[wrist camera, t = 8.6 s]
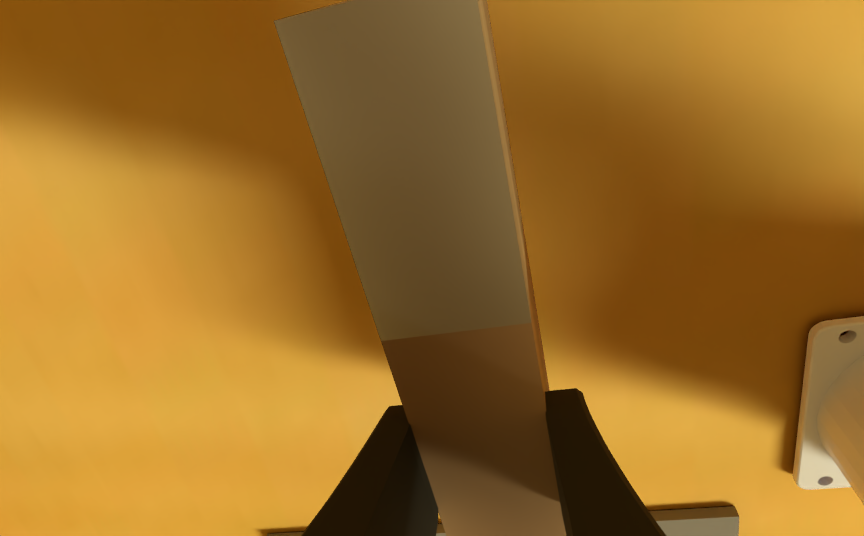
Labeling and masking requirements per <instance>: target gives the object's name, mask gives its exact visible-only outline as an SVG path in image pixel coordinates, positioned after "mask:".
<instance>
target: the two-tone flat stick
mask: <svg viewBox="0 0 864 536" xmlns="http://www.w3.org/2000/svg"><path fill="white" fill-rule="evenodd" d="M274 23H275V26H276V29H277V32H278V35H279V38H280V41H281V44H282V47H283V50H284V53H285V56H286V59H287V62H288V65H289V68H290V71H291V74H292V77H293V80H294V83H295V86H296V89H297V92H298V95H299V98H300V101H301V104H302V107H303V110H304V113H305V116H306V119H307V122H308V125H309V128H310V131H311V134H312V137H313V140H314V142H315V145H316V148H317V151H318V154H319V157H320V160H321V163H322V166H323V169H324V172H325V175H326V178H327V181H328V184H329V187H330V190H331V193H332V196H333V199H334V202H335V205H336V208H337V211H338V214H339V217H340V220H341V223H342V226H343V229H344V232H345V235H346V238H347V241H348V244H349V247H350V250H351V253H352V256H353V259H354V262H355V265H356V268H357V271H358V274H359V277H360V280H361V283H362V286H363V289H364V292H365V295H366V298H367V301H368V303H369V306H370V309H371V312H372V315H373V318H374V321H375V324H376V327H377V330H378V333H379V336H380V339H381V342H382V345H383V348H384V351H385V354H386V357H387V360H388V363H389V366H390V369H391V372H392V375H393V378H394V381H395V384H396V387H397V390H398V393H399V396H400V399H401V402H402V405H403V408H404V411H405V414H406V417H407V420H408V423H409V424H410V425H411V428H412V431H413V434H414V437H415V440H416V443H417V446H418V449H419V452H420V455H421V458H422V461H423V464H424V467H425V470H426V473H427V476H428V479H429V482H430V485H431V488H432V491H433V494H434V497H435V500H436V503H437V506H438V512H439V515H440V518H441V521H442V524H443V527H444V530H445V533H446V536H567V535H566V531H565V526H564V521H563V516H562V510H561V505H560V499H559V493H558V487H557V481H556V475H555V469H554V463H553V457H552V452H551V446H550V440H549V434H548V428H547V422H546V413H545V412H546V401H545V391H549V385H548V379H547V373H546V366H545V360H544V354H543V348H542V341H541V335H540V329H539V323H538V316H537V310H536V304H535V298H534V291H533V285H532V279H531V273H530V267H529V260H528V254H527V248H526V242H525V235H524V229H523V223H522V217H521V210H520V204H519V198H518V192H517V185H516V179H515V173H514V167H513V160H512V154H511V148H510V142H509V136H508V129H507V123H506V117H505V111H504V104H503V98H502V92H501V86H500V79H499V73H498V67H497V61H496V54H495V48H494V42H493V36H492V30H491V23H490V17H489V11H488V5H487V0H347V1H344V2H340V3H337V4H333V5H329V6H326V7H322V8H319V9H315V10H312V11H308V12H304V13H301V14H297V15H294V16H290V17H286V18H283V19H279V20H276V21H274Z"/></svg>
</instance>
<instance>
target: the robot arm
mask: <svg viewBox="0 0 864 536" xmlns="http://www.w3.org/2000/svg"><path fill="white" fill-rule="evenodd" d="M848 330H849V331H848ZM845 331H848V333H846V334H845V335H842V336H840V334H841V333H843V332H845ZM545 401H546V412H545V413H546V422H547V428H548V434H549V440H550V446H551V452H552V457H553V463H554V469H555V475H556V481H557V487H558V493H559V499H560V505H561V510H562V516H563V521H564V526H565V531H566V535H567V536H666V534H665V533H664V532H663V530H662V529H661V528H660V526H659V525H658V523H657V522H656V521H655V519H654V518H653V516H652V515H651V514H650V512H649V511H648V509H647V508H646V507H645V505H644V504H643V502H642V501H641V499H640V498H639V496H638V495H637V494H636V492H635V491H634V489H633V488H632V486H631V485H630V483H629V481H628V480H627V478H626V477H625V475H624V473H623V472H622V470H621V469H620V467H619V465H618V464H617V462H616V461H615V459H614V457H613V456H612V454H611V452H610V451H609V449H608V447H607V445H606V444H605V442H604V440H603V438H602V436H601V434H600V432H599V431H598V429H597V427H596V425H595V423H594V421H593V419H592V416H591V414H590V412H589V410H588V407H587V405H586V402H585V399H584V396H583V393H582V392H581V391H579V390H578V389H576V388H575V389H565V390H554V391H545ZM793 479H794V481H795V482H796V484H797V485H798V486H799V487H800V488H802V489H809V490H811V489H827V488H843V487H852V488H853V490H854V491H855V493H856V494H857V496H858V497H859V499H860V500H861V502H862V503H863V505H864V316H860V317H851V318H843V319H835V320H826V321H823V322H819V323H818V324H816V325H814V326H813V327H812V328H811V330H810V332H809V334H808V343H807V352H806V361H805V370H804V379H803V388H802V397H801V406H800V415H799V424H798V433H797V442H796V450H795V459H794V468H793ZM437 525H438V506H437V503H436V500H435V497H434V494H433V491H432V488H431V485H430V482H429V479H428V476H427V473H426V470H425V467H424V464H423V461H422V458H421V455H420V452H419V449H418V446H417V443H416V440H415V437H414V434H413V431H412V428H411V425H410V424H409V423H408V420H407V417H406V414H405V411H404V408H403V405H398V406H389V407H388V409H387V410H386V411H385V413H384V414H383V416H382V418H381V419H380V421H379V422H378V424H377V426H376V427H375V429H374V430H373V432H372V434H371V435H370V437H369V438H368V440H367V442H366V443H365V445H364V446H363V448H362V449H361V451H360V453H359V454H358V456H357V457H356V459H355V460H354V462H353V463H352V465H351V466H350V468H349V469H348V471H347V472H346V474H345V475H344V477H343V478H342V480H341V481H340V483H339V484H338V486H337V487H336V489H335V490H334V492H333V493H332V494H331V496H330V497H329V499H328V500H327V502H326V503H325V504H324V506H323V507H322V508H321V510H320V511H319V512H318V514H317V515H316V516H315V518H314V519H313V520H312V522H311V523H310V524H309V526H308V527H307V528H306V530H305V531H304V533H303V534H302V535H301V536H436V533H437Z"/></svg>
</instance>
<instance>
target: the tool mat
mask: <svg viewBox="0 0 864 536" xmlns="http://www.w3.org/2000/svg"><path fill="white" fill-rule="evenodd" d="M649 512H650V514H651V515H652V516H653V518H654V519H655V521H656V522H657V523H658V525H659V526H660V528H661V529H662V530H663V532H664V533H665V534H666V536H738V532H739V515H738V513H737V510H736V508H735V506H728V507H711V508H694V509H678V510H661V511H649ZM303 533H304V532H290V533H273V534H267V536H301V535H302V534H303ZM436 536H446V533H445V530H444V527H443V524H438V525H437V533H436Z"/></svg>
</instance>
